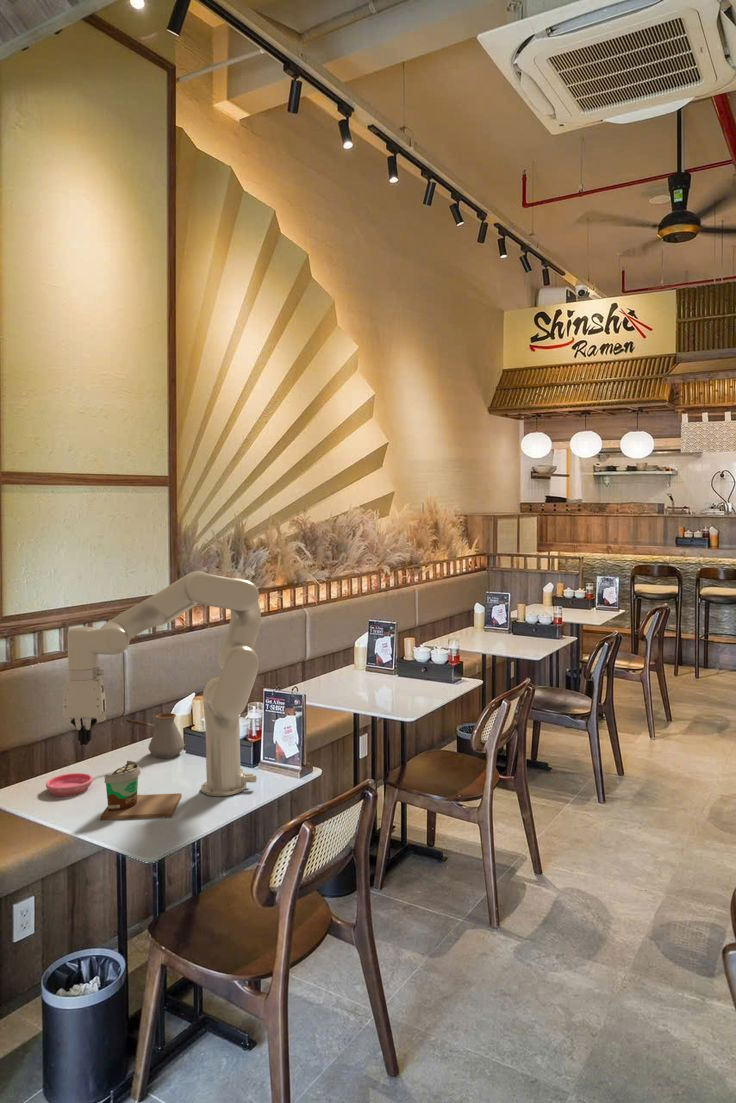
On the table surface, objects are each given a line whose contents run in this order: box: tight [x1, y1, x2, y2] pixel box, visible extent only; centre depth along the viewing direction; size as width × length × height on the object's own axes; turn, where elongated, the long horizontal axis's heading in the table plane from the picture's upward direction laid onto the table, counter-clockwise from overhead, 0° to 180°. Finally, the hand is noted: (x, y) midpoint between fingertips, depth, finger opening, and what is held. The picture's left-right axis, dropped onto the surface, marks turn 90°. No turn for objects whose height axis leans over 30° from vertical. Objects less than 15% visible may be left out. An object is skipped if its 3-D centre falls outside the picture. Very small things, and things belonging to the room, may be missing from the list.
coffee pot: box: [120, 712, 186, 759], centre depth 242 cm, size 21×12×15 cm, turn 138°
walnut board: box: [100, 792, 182, 821], centre depth 201 cm, size 18×14×1 cm
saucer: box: [45, 772, 94, 797], centre depth 215 cm, size 12×12×3 cm
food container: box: [104, 760, 141, 811], centre depth 200 cm, size 12×6×10 cm, turn 169°
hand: (85, 743), depth 199 cm, fingers closed
